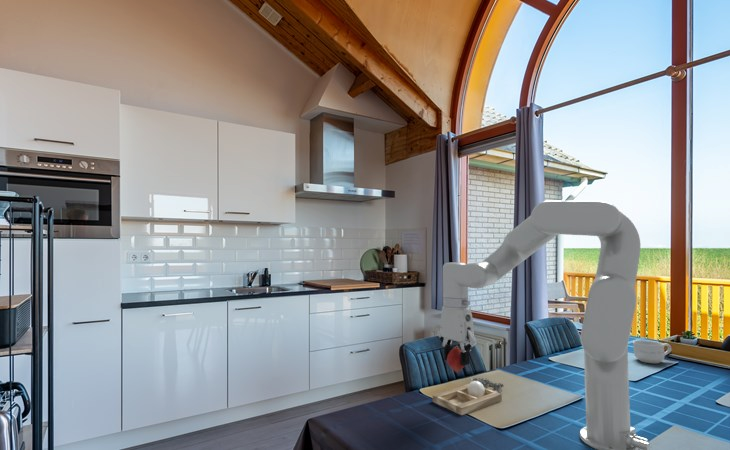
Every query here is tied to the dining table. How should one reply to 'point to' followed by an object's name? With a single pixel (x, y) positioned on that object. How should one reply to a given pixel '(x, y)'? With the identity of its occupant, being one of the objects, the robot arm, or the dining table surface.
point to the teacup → (650, 351)
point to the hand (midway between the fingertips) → (456, 361)
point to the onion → (454, 359)
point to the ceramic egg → (476, 389)
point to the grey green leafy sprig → (485, 384)
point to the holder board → (465, 400)
